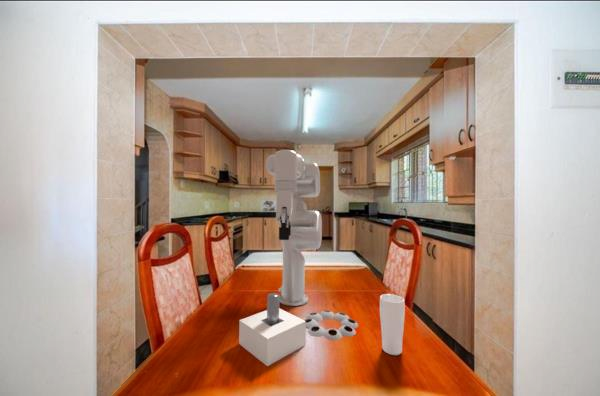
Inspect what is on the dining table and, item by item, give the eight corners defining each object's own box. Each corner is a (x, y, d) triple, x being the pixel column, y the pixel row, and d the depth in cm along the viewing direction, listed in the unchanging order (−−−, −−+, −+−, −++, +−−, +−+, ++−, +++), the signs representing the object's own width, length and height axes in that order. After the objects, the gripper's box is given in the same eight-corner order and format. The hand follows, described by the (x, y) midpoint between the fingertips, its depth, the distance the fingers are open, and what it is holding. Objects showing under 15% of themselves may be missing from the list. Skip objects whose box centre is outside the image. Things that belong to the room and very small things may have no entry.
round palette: (325, 308, 100) (325, 303, 100) (369, 326, 86) (369, 320, 86) (289, 325, 87) (289, 319, 87) (335, 349, 73) (335, 342, 73)
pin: (263, 335, 74) (265, 294, 74) (273, 331, 77) (274, 292, 77) (271, 340, 71) (272, 298, 72) (280, 335, 74) (282, 295, 74)
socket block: (239, 343, 74) (239, 320, 74) (276, 327, 84) (276, 306, 84) (267, 366, 64) (267, 338, 64) (305, 344, 74) (305, 321, 74)
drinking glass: (375, 344, 74) (376, 293, 75) (397, 343, 75) (397, 293, 75) (385, 358, 68) (385, 303, 68) (409, 357, 68) (409, 302, 68)
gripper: (277, 188, 93) (276, 234, 93) (271, 185, 76) (270, 241, 76) (297, 188, 93) (296, 234, 93) (295, 185, 76) (295, 241, 76)
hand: (285, 237), depth 84 cm, fingers open, 9 cm apart
